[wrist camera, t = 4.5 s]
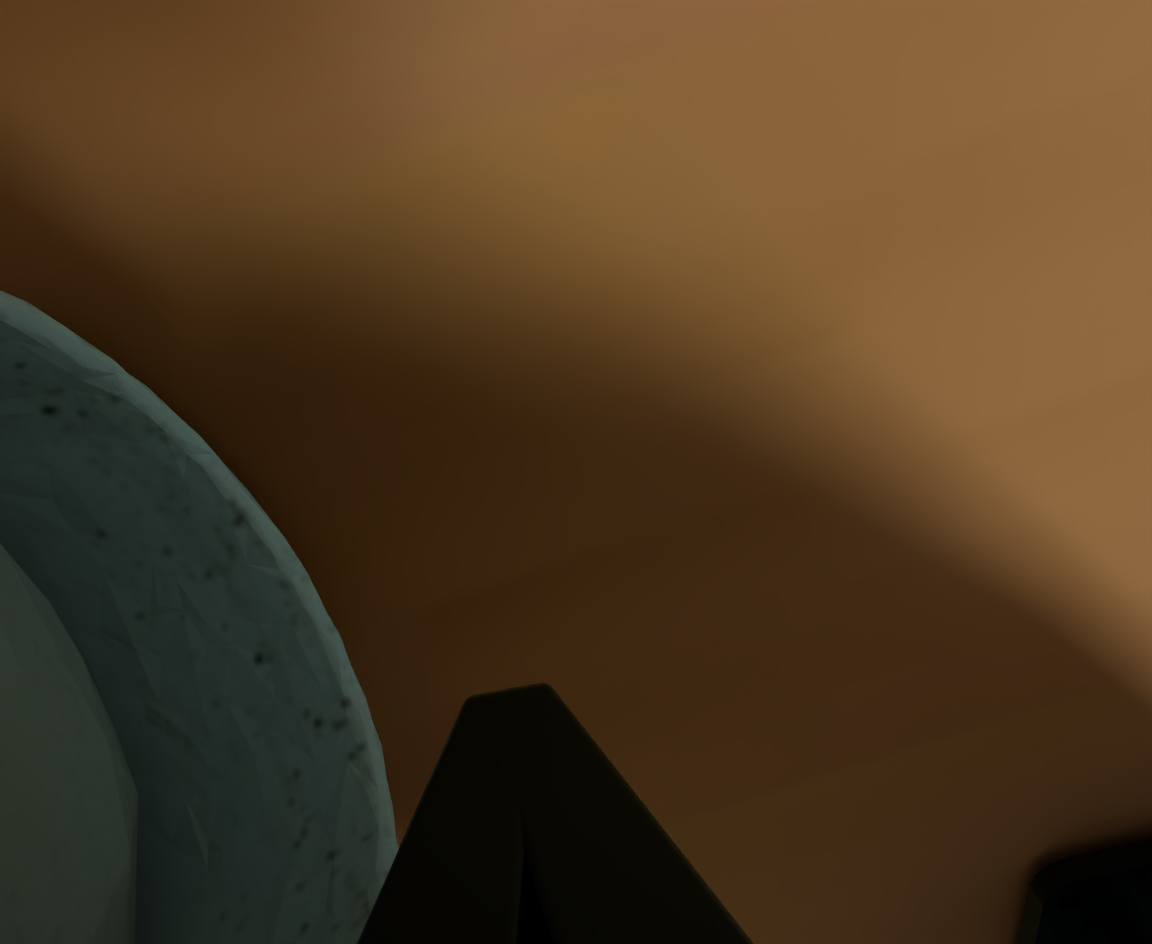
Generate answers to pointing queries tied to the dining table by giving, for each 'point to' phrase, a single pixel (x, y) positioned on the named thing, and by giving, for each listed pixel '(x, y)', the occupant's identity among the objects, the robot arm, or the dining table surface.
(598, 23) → the dining table surface
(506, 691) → the robot arm
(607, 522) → the dining table surface
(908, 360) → the dining table surface
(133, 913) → the ceramic mug
